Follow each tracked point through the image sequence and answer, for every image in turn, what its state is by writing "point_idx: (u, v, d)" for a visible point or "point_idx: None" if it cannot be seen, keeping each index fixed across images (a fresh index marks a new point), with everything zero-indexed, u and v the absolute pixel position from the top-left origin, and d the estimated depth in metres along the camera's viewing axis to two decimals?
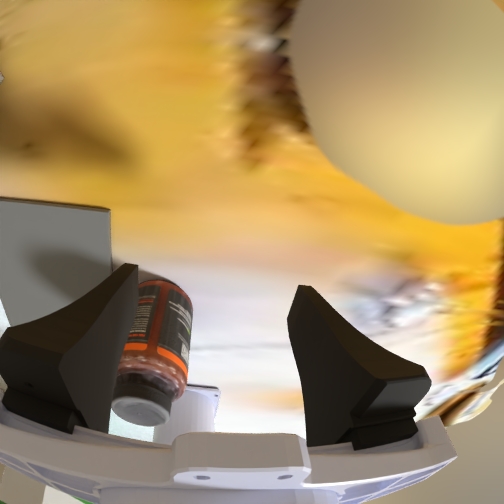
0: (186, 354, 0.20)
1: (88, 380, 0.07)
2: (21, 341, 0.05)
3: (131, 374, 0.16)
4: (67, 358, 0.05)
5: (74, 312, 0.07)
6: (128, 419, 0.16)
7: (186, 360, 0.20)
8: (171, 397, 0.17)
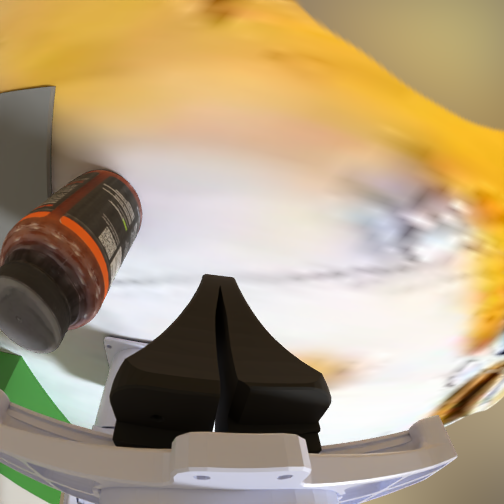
0: (110, 244, 0.13)
1: None
2: (158, 373, 0.06)
3: (17, 251, 0.09)
4: None
5: (186, 331, 0.08)
6: (11, 335, 0.09)
7: (108, 251, 0.12)
8: (71, 300, 0.10)
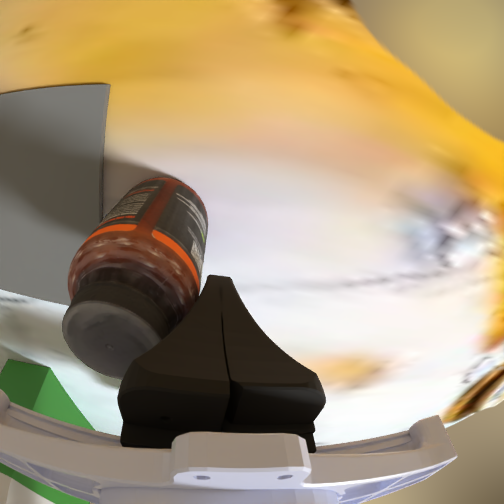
0: (199, 259, 0.13)
1: None
2: (167, 374, 0.06)
3: (103, 270, 0.10)
4: None
5: (193, 332, 0.08)
6: (93, 363, 0.09)
7: (198, 267, 0.13)
8: (170, 322, 0.11)
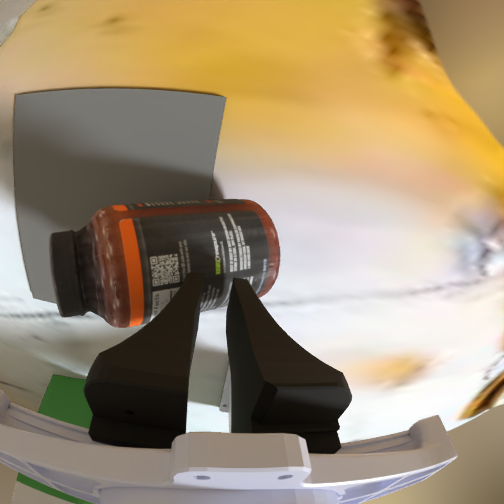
0: (167, 273, 0.12)
1: None
2: (128, 368, 0.06)
3: (84, 227, 0.12)
4: (188, 381, 0.06)
5: (164, 328, 0.08)
6: None
7: (156, 278, 0.12)
8: (88, 292, 0.11)
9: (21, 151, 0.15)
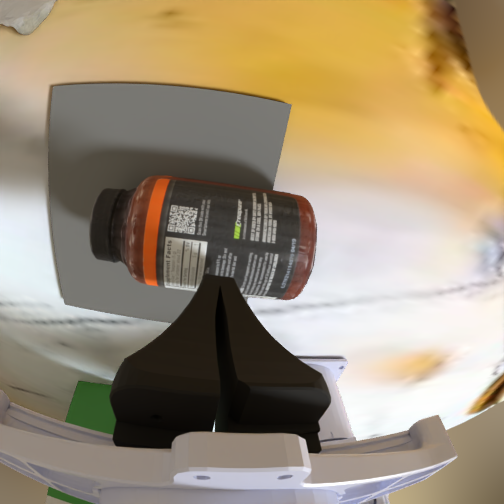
0: (183, 222, 0.13)
1: None
2: (158, 373, 0.06)
3: None
4: None
5: (186, 331, 0.08)
6: None
7: (172, 224, 0.13)
8: (116, 230, 0.13)
9: (59, 148, 0.15)
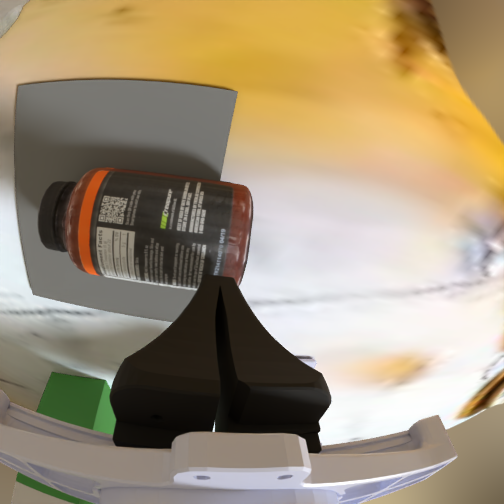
0: (113, 212, 0.12)
1: None
2: (158, 373, 0.06)
3: None
4: None
5: (186, 331, 0.08)
6: None
7: (103, 214, 0.12)
8: (59, 220, 0.12)
9: (22, 143, 0.14)
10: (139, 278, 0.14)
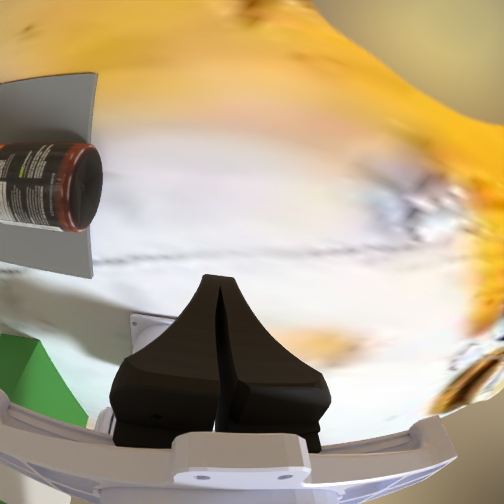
0: None
1: None
2: (158, 373, 0.06)
3: None
4: None
5: (186, 331, 0.08)
6: None
7: None
8: None
9: None
10: (14, 219, 0.14)
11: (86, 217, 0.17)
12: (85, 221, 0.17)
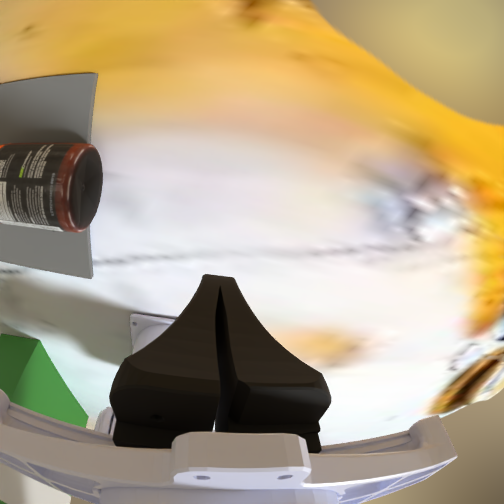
0: None
1: None
2: (158, 373, 0.06)
3: None
4: None
5: (186, 331, 0.08)
6: None
7: None
8: None
9: None
10: (14, 219, 0.14)
11: (86, 217, 0.17)
12: (85, 221, 0.17)
